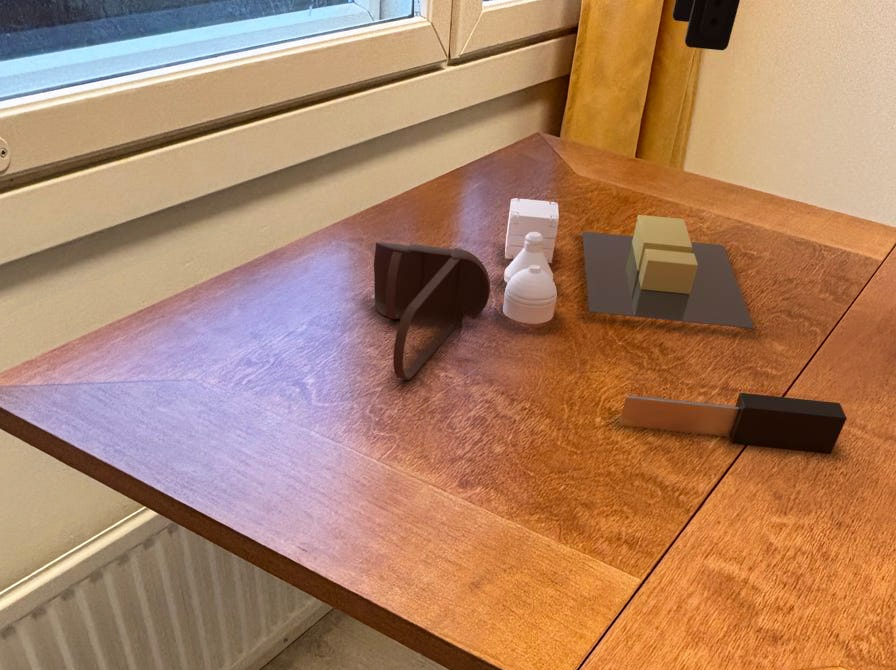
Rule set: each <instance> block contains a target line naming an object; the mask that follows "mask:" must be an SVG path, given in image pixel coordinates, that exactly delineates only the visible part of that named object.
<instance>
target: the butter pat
mask: <svg viewBox="0 0 896 670" xmlns="http://www.w3.org/2000/svg"><path fill="white" fill-rule="evenodd" d="M697 267H698V264H697V261H696V257H695V254H694V253H685V252H674V251H664V250H654V249H645V252H644V257H643V261H642V265H641V269H640V274H639V282H640V287H641V289H643V290H652V291H662V292H672V293H682V294H690V292H691V288H692V285H693V281H694V277H695V274H696V270H697Z"/></svg>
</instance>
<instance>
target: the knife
mask: <svg viewBox="0 0 896 670" xmlns="http://www.w3.org/2000/svg"><path fill="white" fill-rule="evenodd" d="M735 402H736V403H735V405H729V404H718V403H709V402H700V401H691V400H679V399H671V398H661V397H653V396H652V397H651V396H641V395H633V394H626V396H625V399H624V402H623V403H624V404H623V407H622V411H621V415H620V419H619V426H623V427H632V428H640V429H641V428H642V429H649V430H650V429H651V430H652V429H653V430H660V431H670V432H677V433H678V432H680V433H687V434H688V433H689V434H697V435H706V436H707V435H708V436H716V437H725V438H726V437H727V438H729V440H730V443H731V444H732V445H741V446H749V447H758V448H759V447H760V448H769V449H778V450H786V451H787V450H788V451H797V452H805V453H806V452H808V453H815V454H825V455H826V454H827V455H831V454H832V452H833V450H834V447H835V445H836V443H837V442H838V439H839V437H840V435H841V433H842V430H843V428H844V426H845V423H846V422H847V420H848V417H847V415H846V413H845V411H844V409H843V407H842V405H841V403H839V402H835V401H826V400H825V401H823V400H816V399H815V400H814V399H805V398H796V397H786V396H777V395H767V394H758V393H757V394H756V393H748V392H739V394H738V397H737V399H736V401H735Z"/></svg>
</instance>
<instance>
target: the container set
mask: <svg viewBox="0 0 896 670" xmlns="http://www.w3.org/2000/svg"><path fill="white" fill-rule="evenodd" d="M559 218H560V216H559V203H557V202H556V201H549V200H540V199H539V200H538V199H527V198H517V197H515V198H514V197H513V198H511V199H510V206H509V213H508V219H507V228H506V235H505V249H504V250H505V251H504V259H506V260H512V261H511V262H510V264H508V266H507V267H506V268H505V269H504V273H503V280H504V282H505V283H506V286H505V290H504V295H503V306H502V312H503V314H504V315H505V316H506V317H507V318H508V319H510V320H511V321H515V322H518V323H521V324H529V325H531V324H532V325H535V324H537V325H538V324H544V323H547V322H549V321H551V320H552V319H553V317H554V314H555V308H556V303H557V297H558V292H557V286H556V283H555V281H554V273H553V272H552V269H551V267H550V265H549V264H553V257H554V251H555V250H554V249H555V245H556V239H557V233H558V226H559V220H560V219H559Z"/></svg>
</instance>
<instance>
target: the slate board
mask: <svg viewBox="0 0 896 670" xmlns="http://www.w3.org/2000/svg"><path fill="white" fill-rule="evenodd" d="M633 236H634V235H625V234H615V233H604V232H595V231H594V232H593V231H583V230H582V244H583V256H584V268H585V269H584V270H585V281H586V292H587V293H586V295H587V305H588V312H589V313H596V314H604V315H613V316H623V317H635V318H643V319H654V320H664V321H672V322H683V323H693V324H702V325H713V326H723V327H732V328H733V327H734V328H741V329H742V328H743V329H752V330H755V327H754V324H753V321H752V319H751V315H750V313H749V310H748V308H747V304H746V302H745V300H744V297H743V295H742V292H741V288H740V286H739V283H738V281H737V278H736V276H735V273H734V269H733V268H732V265H731V262H730V260H729V257H728V256H729V255H728V254H727V252H726V249H725V246H724V245H723V244H715V243H707V242H705V243H704V242H696V241H691V244H692V251H691V253H694V254H695V257H696V261H697V264H698V267H697V270H696V274H695V277H694V281H693V285H692V288H691V292H690V294H682V293H672V292H662V291H652V290H643V289H641V287H640V282H639V274H640V271H637V266H636V260H635V255H634V250H633V244H632V240H633Z"/></svg>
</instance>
